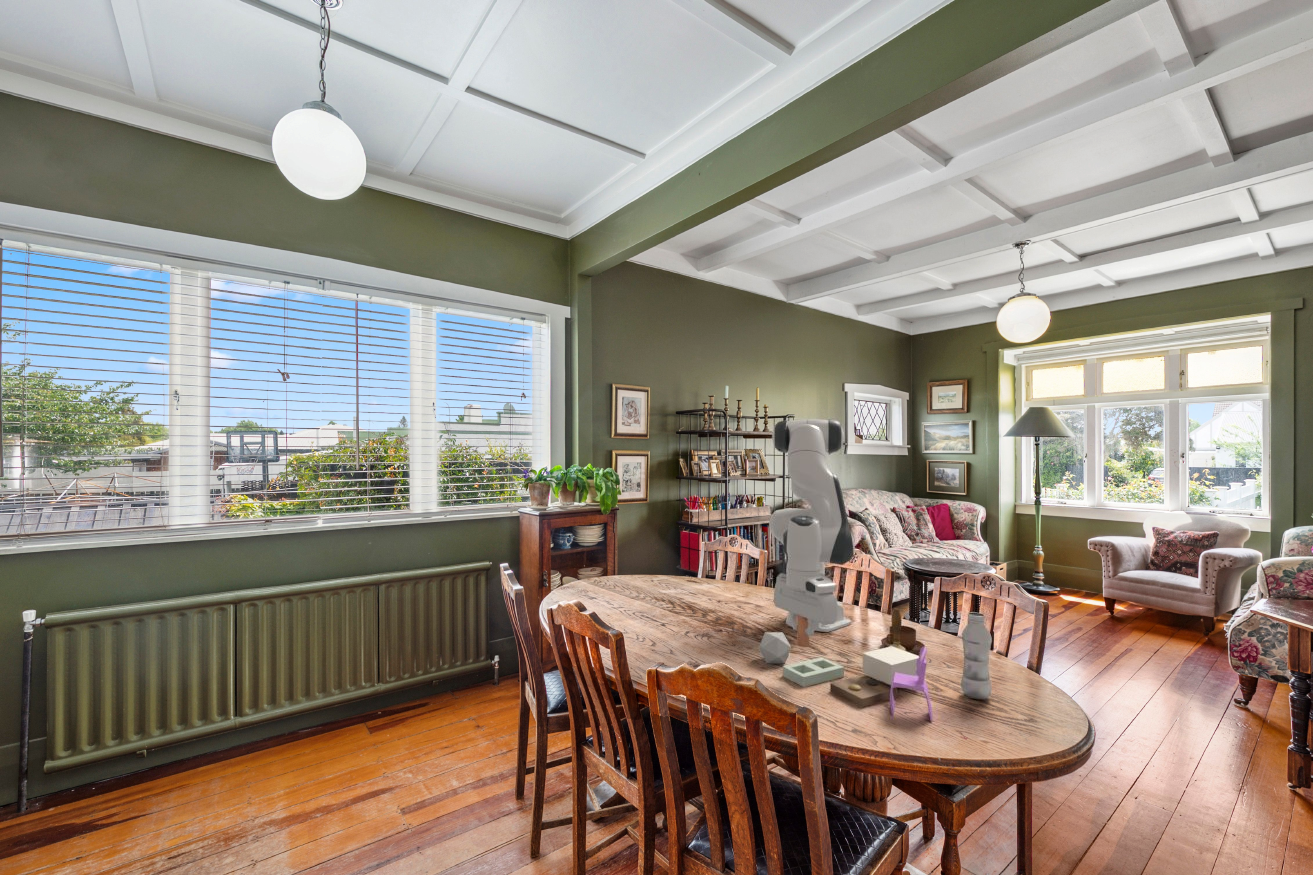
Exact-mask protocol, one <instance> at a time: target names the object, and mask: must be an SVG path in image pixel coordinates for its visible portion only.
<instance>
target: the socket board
mask: <svg viewBox="0 0 1313 875" xmlns="http://www.w3.org/2000/svg"><path fill="white" fill-rule="evenodd" d="M782 677H784V678H786V679H788V680H790V681H792V682H793V683H796V684H797V685H800V686H801V687H803V688H806V687H809V686H814V685H818V684H820V683H826V682H829V681H832V680H836V679H840V678H844V677H845V667H844V666H842V665H840V664H838V663H836V662H834V661H831V660H829V659H826V658H824V657H823V656H822V657H818V658H813V659H809V660H804V661H800V662H795V663H791V664H787V665H782Z"/></svg>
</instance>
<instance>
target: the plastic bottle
mask: <svg viewBox="0 0 1313 875" xmlns="http://www.w3.org/2000/svg"><path fill="white" fill-rule="evenodd" d="M967 622H968V623H967V625H966V626H965V627H964V628H963V629H962V632H961V640H962V641H961V642H962V648H963V667H962V668H963V669H962V676H961V680H960V687H961V691H962V693H963V694H964V695H965V696H966V697H968V698H971V699H975V700H987V699H989V698H990V696H991V694H992V689H993V688H992V683H991V678H990V666H989V664H990V661H989V660H990V652H991V648H992V647H991V645H992V642H993V640H992V639H993V638H992V636H991V633H990V631H989V629H988V628H987V627H986V626H985V624H986V615H985V614H984V613H980V612H975V611H971V612H968V613H967Z"/></svg>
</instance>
